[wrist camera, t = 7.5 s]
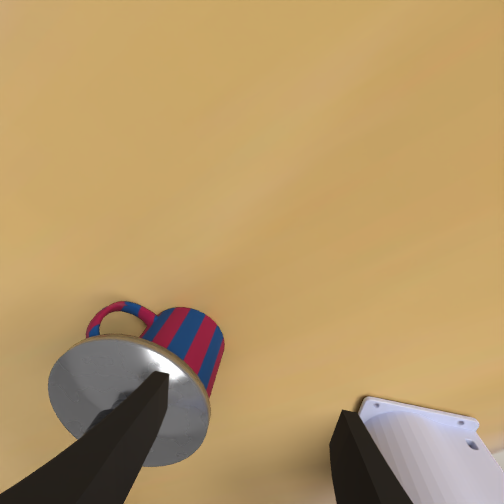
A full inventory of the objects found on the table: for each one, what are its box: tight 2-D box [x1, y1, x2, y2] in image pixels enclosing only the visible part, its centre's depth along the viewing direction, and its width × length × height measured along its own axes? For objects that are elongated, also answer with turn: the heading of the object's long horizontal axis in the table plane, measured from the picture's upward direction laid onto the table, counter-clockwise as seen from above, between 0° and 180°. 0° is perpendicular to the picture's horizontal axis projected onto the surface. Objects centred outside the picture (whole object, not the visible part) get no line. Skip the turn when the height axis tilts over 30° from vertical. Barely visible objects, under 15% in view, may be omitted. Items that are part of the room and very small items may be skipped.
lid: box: [48, 334, 211, 467], centre depth 15 cm, size 10×10×4 cm
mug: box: [86, 301, 225, 398], centre depth 20 cm, size 7×10×7 cm
